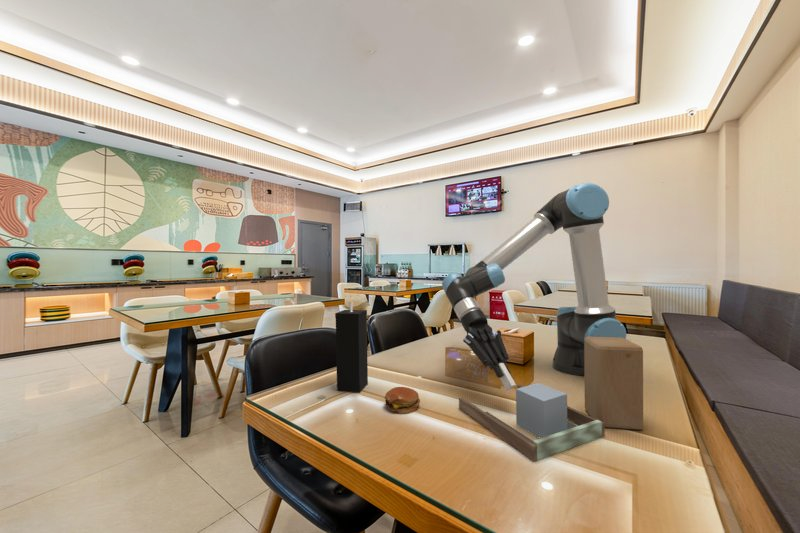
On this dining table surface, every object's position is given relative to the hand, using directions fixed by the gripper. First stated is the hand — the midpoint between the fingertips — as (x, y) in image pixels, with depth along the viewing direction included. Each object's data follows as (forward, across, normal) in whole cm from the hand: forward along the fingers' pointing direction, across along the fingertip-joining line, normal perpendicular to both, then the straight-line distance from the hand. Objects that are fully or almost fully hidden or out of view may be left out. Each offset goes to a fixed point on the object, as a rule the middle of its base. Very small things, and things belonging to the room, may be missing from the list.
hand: (511, 387), depth 86 cm
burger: (-7, +24, -17) cm, 30 cm away
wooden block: (+15, -20, +5) cm, 25 cm away
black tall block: (-21, +32, -31) cm, 49 cm away
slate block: (+11, -1, +2) cm, 11 cm away
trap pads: (+8, 0, -1) cm, 8 cm away
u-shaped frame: (+8, 0, -1) cm, 8 cm away
